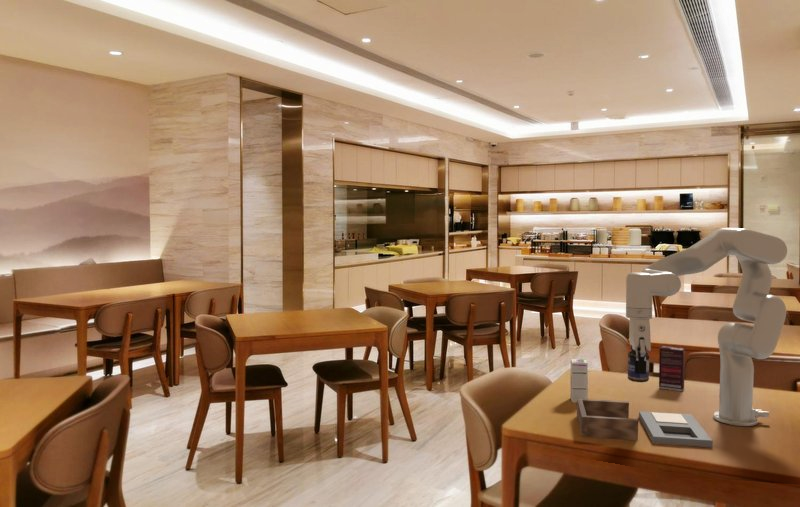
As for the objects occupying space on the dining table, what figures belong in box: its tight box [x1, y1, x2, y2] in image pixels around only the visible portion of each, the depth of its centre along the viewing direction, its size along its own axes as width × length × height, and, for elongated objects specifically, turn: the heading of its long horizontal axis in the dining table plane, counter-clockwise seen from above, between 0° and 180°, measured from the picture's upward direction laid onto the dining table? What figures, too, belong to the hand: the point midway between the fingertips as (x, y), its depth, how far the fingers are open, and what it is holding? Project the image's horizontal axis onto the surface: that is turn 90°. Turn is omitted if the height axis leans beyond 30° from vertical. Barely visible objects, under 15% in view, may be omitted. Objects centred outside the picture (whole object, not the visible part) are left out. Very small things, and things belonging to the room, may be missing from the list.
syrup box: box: [570, 358, 589, 404], centre depth 221 cm, size 6×6×14 cm
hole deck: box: [638, 410, 714, 448], centre depth 190 cm, size 16×24×2 cm, turn 168°
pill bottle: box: [627, 345, 650, 383], centre depth 190 cm, size 6×6×11 cm
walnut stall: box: [576, 398, 639, 441], centre depth 193 cm, size 16×19×6 cm
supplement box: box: [658, 345, 686, 392], centre depth 236 cm, size 9×5×16 cm, turn 58°
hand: (638, 370), depth 190 cm, fingers closed on pill bottle, 6 cm apart
